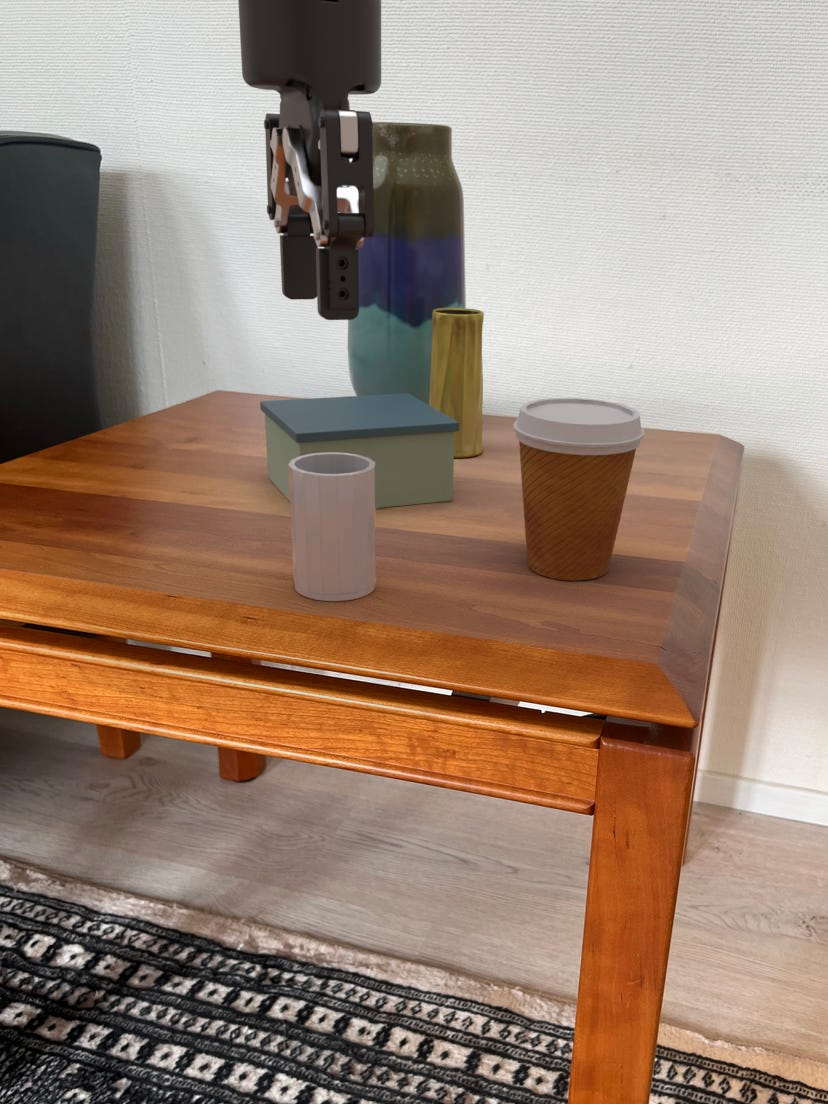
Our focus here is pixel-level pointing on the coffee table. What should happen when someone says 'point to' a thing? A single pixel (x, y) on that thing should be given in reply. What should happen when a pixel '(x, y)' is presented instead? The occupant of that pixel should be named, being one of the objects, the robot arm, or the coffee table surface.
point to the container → (368, 442)
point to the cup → (333, 525)
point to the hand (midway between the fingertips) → (318, 308)
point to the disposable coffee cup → (574, 482)
